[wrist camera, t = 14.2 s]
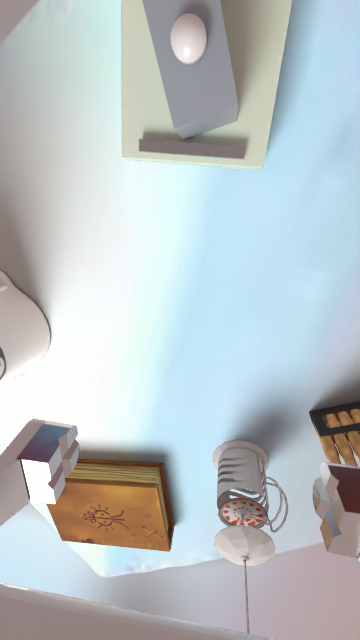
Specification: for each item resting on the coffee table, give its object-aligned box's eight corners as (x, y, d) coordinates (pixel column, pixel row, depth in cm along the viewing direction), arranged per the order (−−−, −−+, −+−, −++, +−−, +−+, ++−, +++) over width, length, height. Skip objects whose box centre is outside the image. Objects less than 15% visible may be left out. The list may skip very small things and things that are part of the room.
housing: (156, 22, 25) (132, -34, 19) (213, -5, 24) (208, -74, 18) (184, 139, 28) (171, 126, 22) (236, 121, 27) (239, 101, 21)
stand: (138, 161, 35) (118, 155, 29) (140, 1, 29) (116, -50, 23) (257, 170, 34) (264, 166, 27) (285, 4, 28) (302, -50, 22)
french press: (201, 450, 53) (182, 648, 30) (261, 428, 49) (290, 638, 26) (229, 486, 55) (231, 693, 33) (288, 468, 51) (336, 689, 29)
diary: (75, 515, 67) (62, 542, 62) (53, 455, 60) (36, 480, 55) (174, 524, 63) (169, 555, 58) (163, 461, 56) (156, 489, 50)
